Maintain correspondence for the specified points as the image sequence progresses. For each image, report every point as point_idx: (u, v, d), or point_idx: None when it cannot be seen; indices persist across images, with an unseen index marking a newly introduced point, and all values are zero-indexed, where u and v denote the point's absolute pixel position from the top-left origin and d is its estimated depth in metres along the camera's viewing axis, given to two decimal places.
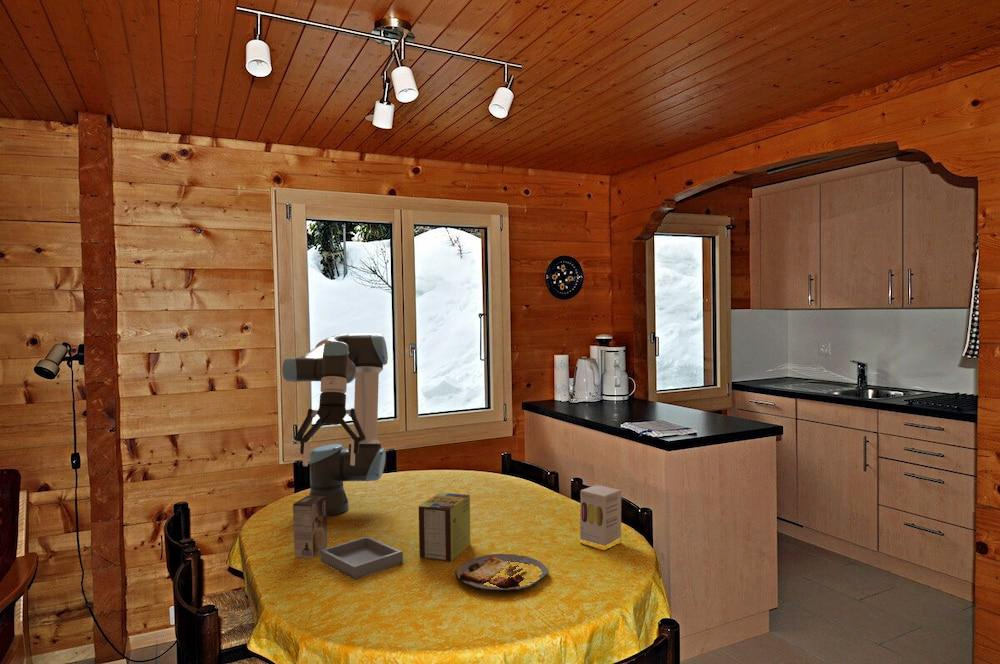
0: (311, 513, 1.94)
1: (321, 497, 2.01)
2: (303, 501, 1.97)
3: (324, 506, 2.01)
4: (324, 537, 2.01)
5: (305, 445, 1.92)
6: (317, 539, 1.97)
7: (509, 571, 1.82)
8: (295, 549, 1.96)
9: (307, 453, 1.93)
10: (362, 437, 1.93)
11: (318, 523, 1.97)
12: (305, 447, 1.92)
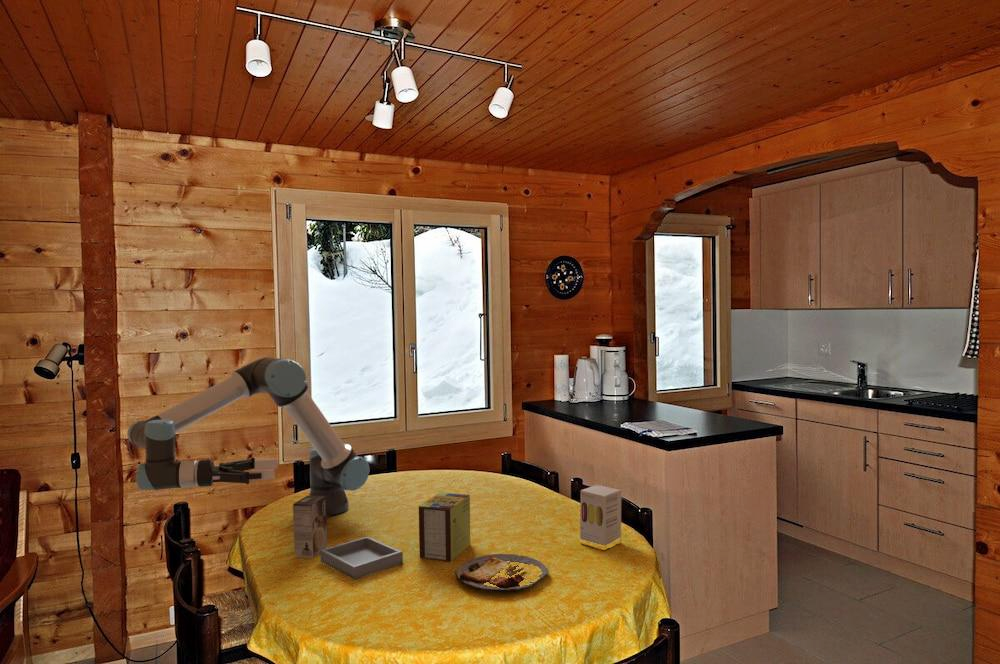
0: (311, 513, 1.94)
1: (321, 497, 2.01)
2: (303, 501, 1.97)
3: (324, 506, 2.01)
4: (324, 537, 2.01)
5: None
6: (317, 539, 1.97)
7: (509, 571, 1.82)
8: (295, 549, 1.96)
9: (265, 464, 2.02)
10: None
11: (318, 523, 1.97)
12: (259, 468, 2.01)
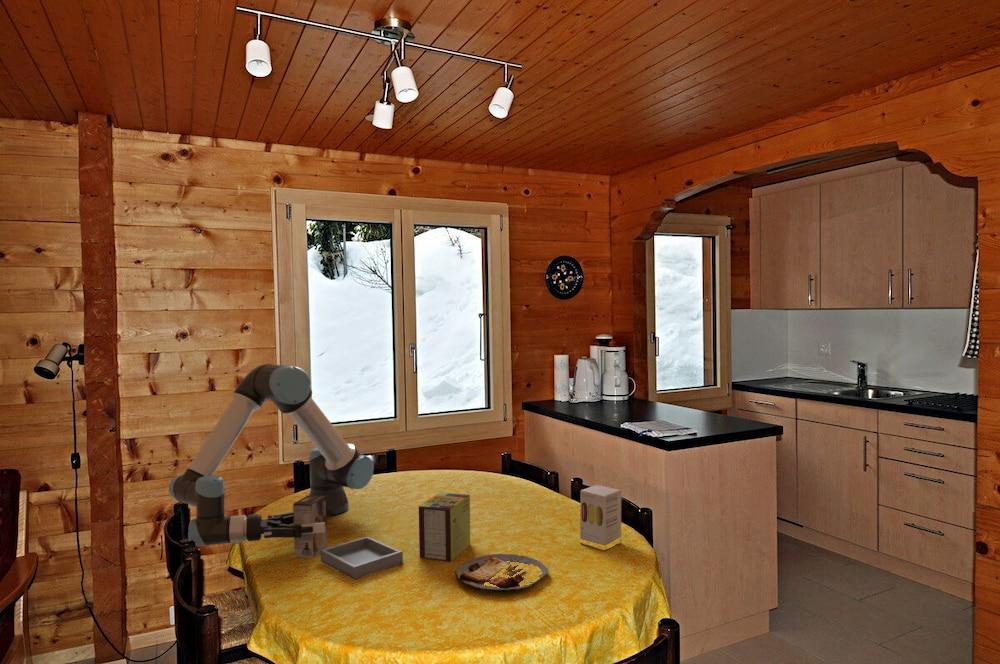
0: (311, 512, 1.94)
1: (321, 497, 2.01)
2: (303, 501, 1.98)
3: (324, 506, 2.01)
4: (324, 537, 2.01)
5: None
6: (317, 539, 1.97)
7: (509, 571, 1.82)
8: (295, 549, 1.96)
9: None
10: None
11: None
12: None
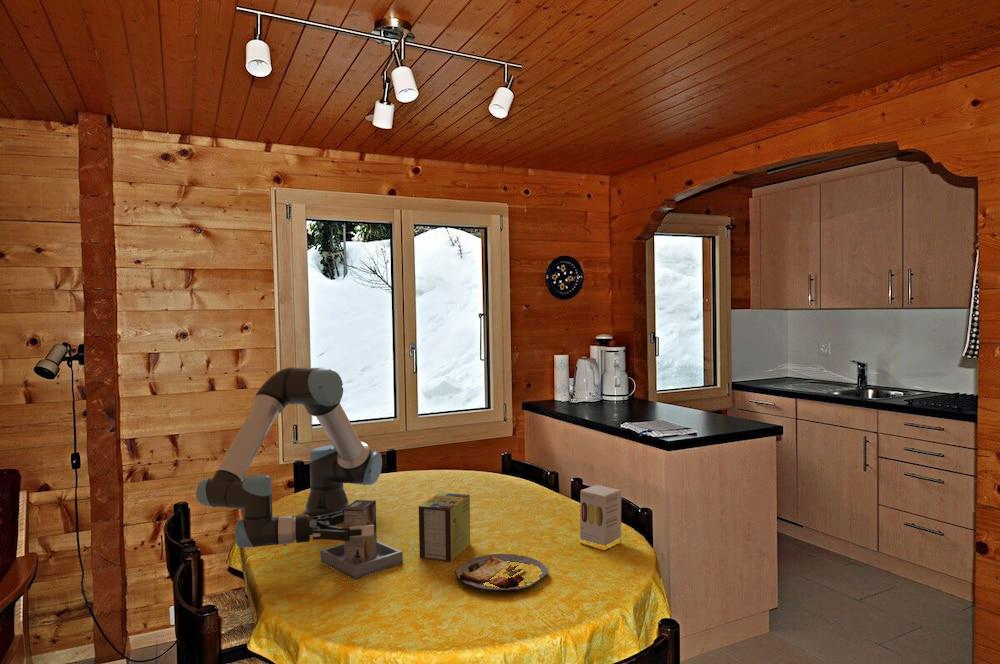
0: (363, 518, 1.85)
1: (371, 502, 1.93)
2: (353, 506, 1.89)
3: (374, 511, 1.93)
4: (374, 543, 1.92)
5: None
6: (368, 546, 1.88)
7: (509, 571, 1.82)
8: (345, 556, 1.87)
9: None
10: None
11: None
12: None
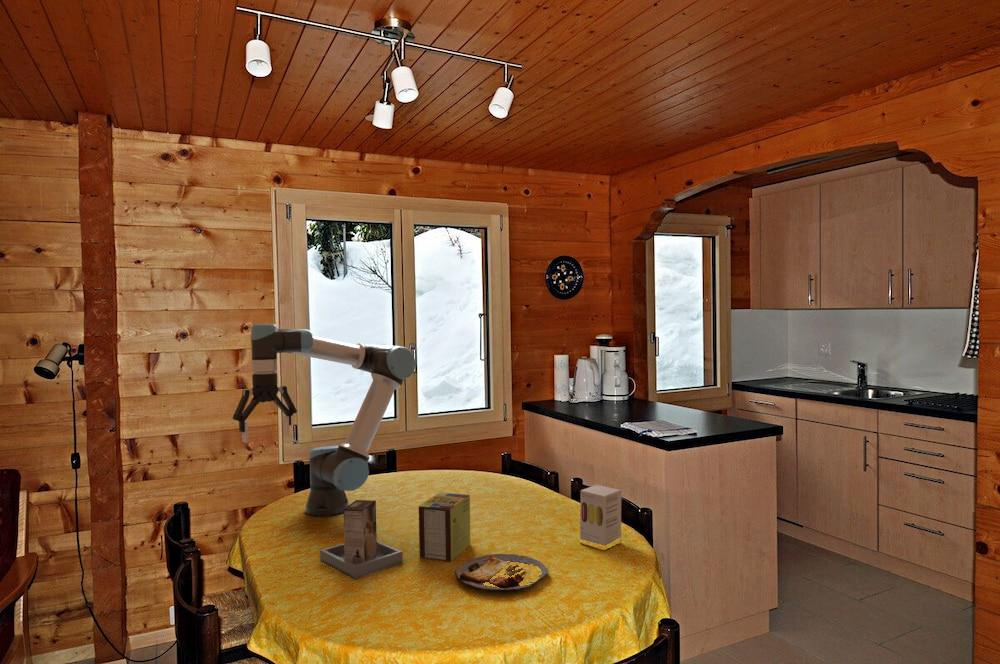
0: (363, 518, 1.85)
1: (371, 502, 1.93)
2: (353, 506, 1.89)
3: (374, 511, 1.93)
4: (374, 543, 1.92)
5: None
6: (368, 546, 1.88)
7: (509, 571, 1.82)
8: (345, 556, 1.87)
9: (285, 425, 2.16)
10: None
11: (369, 529, 1.89)
12: None
